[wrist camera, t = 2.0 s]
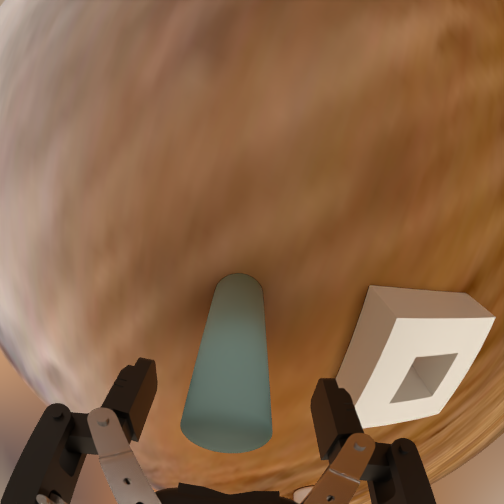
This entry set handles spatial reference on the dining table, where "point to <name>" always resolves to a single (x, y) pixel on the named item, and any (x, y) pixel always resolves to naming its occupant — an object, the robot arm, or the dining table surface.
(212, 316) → the peg
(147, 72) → the dining table surface
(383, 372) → the socket block
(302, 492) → the drinking glass
